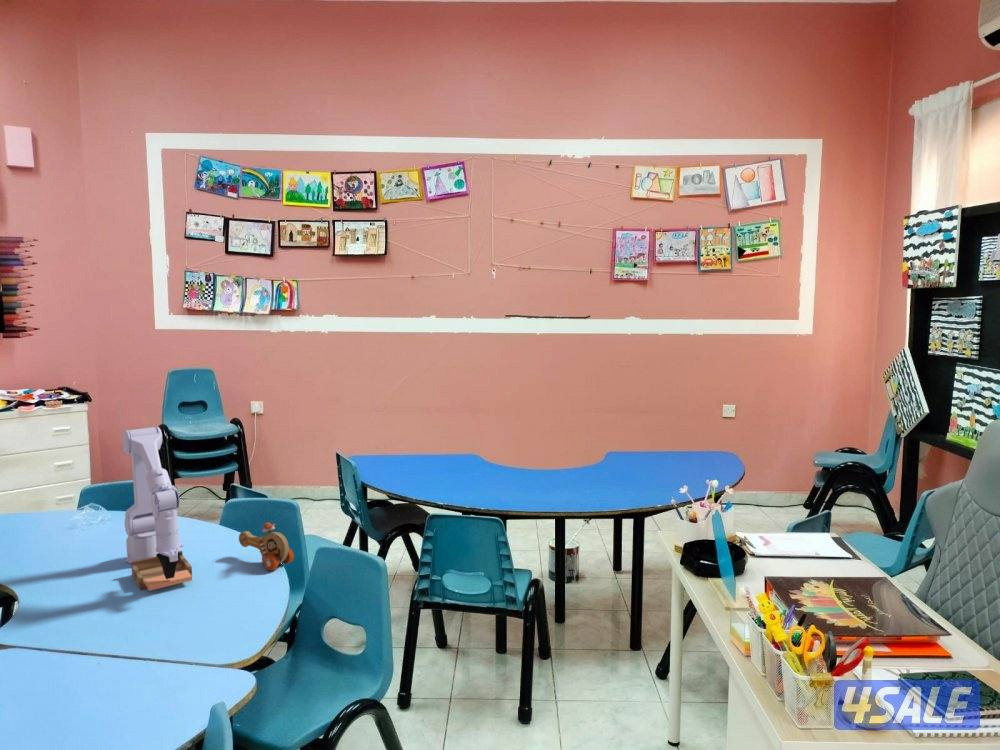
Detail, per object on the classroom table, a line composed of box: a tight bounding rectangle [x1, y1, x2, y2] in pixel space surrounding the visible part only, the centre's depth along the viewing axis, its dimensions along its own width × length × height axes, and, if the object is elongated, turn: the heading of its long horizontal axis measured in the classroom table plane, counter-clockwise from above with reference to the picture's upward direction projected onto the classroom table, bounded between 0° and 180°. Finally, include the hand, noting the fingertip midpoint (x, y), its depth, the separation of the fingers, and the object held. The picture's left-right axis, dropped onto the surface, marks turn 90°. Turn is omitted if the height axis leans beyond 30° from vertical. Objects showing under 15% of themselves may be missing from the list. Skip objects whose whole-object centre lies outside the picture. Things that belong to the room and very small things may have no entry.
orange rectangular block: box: [145, 570, 193, 591], centre depth 199 cm, size 1×11×6 cm
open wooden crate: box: [130, 550, 193, 591], centre depth 205 cm, size 12×14×4 cm
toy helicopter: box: [238, 522, 295, 572], centre depth 216 cm, size 8×21×14 cm, turn 60°
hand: (169, 577), depth 197 cm, fingers closed
